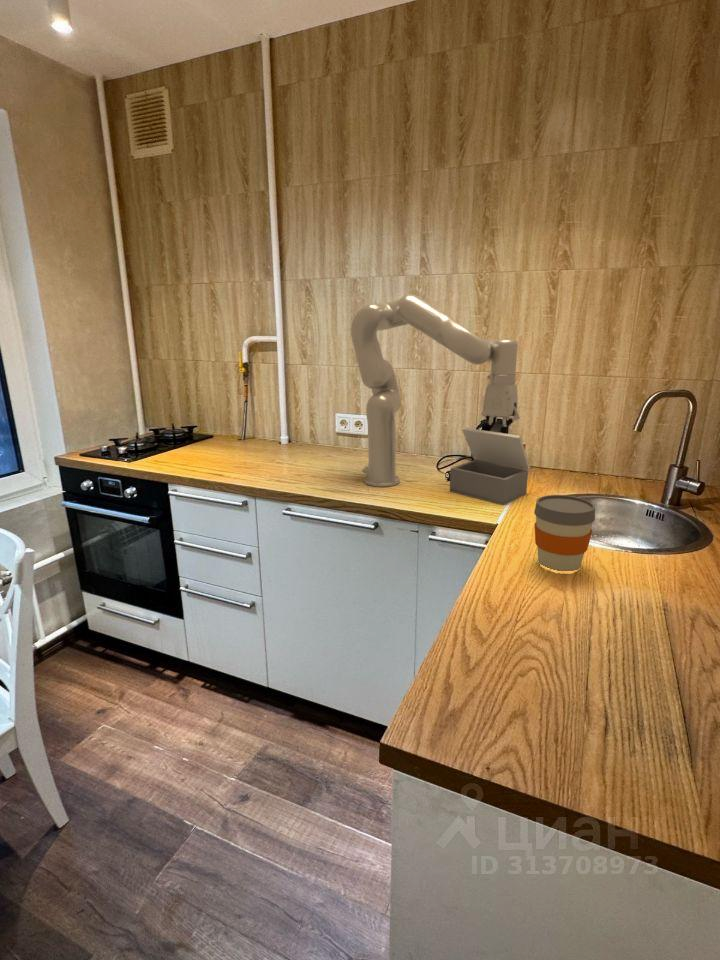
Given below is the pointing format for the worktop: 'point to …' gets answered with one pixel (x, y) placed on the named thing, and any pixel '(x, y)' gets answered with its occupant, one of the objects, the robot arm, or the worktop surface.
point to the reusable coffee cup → (563, 530)
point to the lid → (497, 447)
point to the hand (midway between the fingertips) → (498, 436)
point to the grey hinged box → (488, 481)
